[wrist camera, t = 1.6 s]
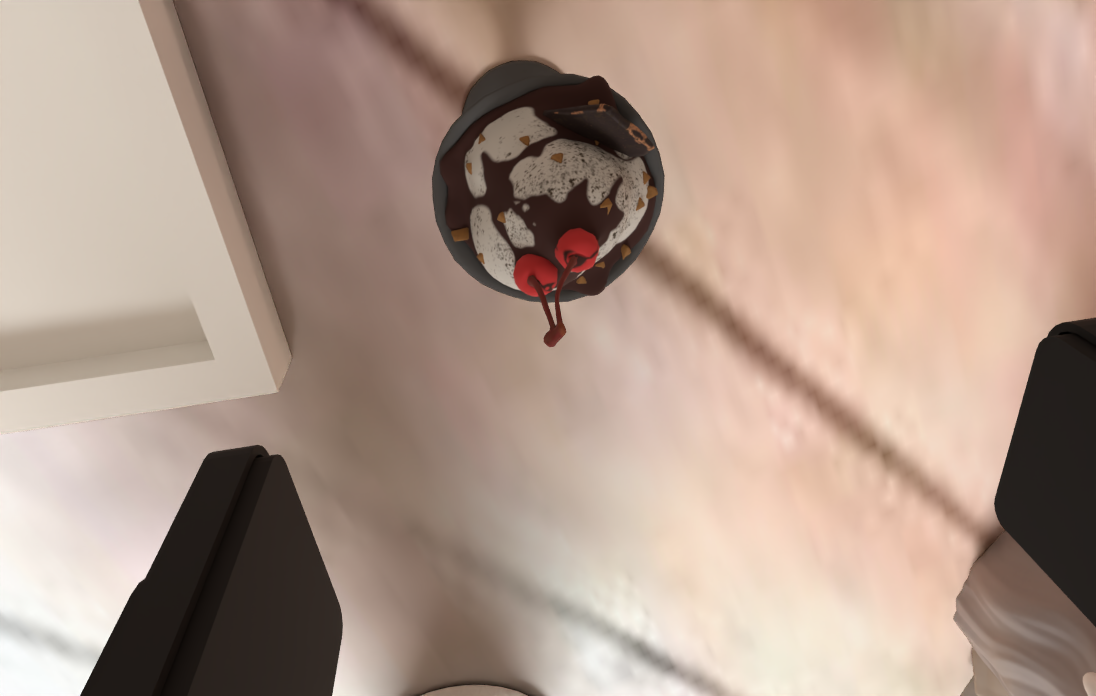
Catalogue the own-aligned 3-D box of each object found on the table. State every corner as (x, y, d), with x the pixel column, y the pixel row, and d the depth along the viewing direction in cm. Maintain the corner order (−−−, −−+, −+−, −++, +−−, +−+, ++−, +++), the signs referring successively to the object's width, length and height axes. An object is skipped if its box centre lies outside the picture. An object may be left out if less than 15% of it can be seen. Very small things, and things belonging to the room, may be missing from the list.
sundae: (481, 228, 31) (498, 426, 18) (412, 76, 28) (372, 184, 15) (623, 170, 30) (746, 332, 17) (570, 9, 27) (674, 58, 14)
